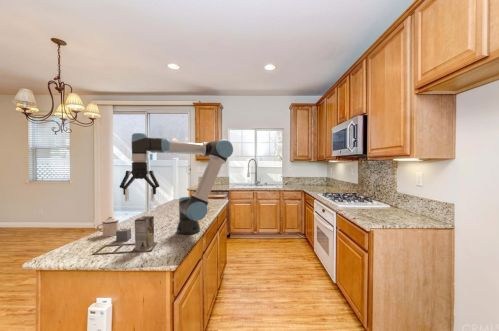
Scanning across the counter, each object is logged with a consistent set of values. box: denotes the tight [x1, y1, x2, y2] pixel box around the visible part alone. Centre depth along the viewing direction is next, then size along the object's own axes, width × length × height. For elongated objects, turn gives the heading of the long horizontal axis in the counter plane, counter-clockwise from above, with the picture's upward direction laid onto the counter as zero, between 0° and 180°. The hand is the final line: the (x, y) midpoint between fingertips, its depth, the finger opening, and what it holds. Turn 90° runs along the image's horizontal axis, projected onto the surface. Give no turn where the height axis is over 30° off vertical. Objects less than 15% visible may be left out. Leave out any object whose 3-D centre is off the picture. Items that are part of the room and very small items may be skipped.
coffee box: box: [134, 215, 155, 251], centre depth 125 cm, size 9×6×16 cm
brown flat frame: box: [92, 241, 158, 256], centre depth 124 cm, size 28×13×1 cm, turn 98°
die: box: [115, 227, 132, 243], centre depth 138 cm, size 6×6×6 cm
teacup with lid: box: [96, 215, 120, 238], centre depth 148 cm, size 12×9×12 cm
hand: (140, 200), depth 127 cm, fingers open, 13 cm apart
